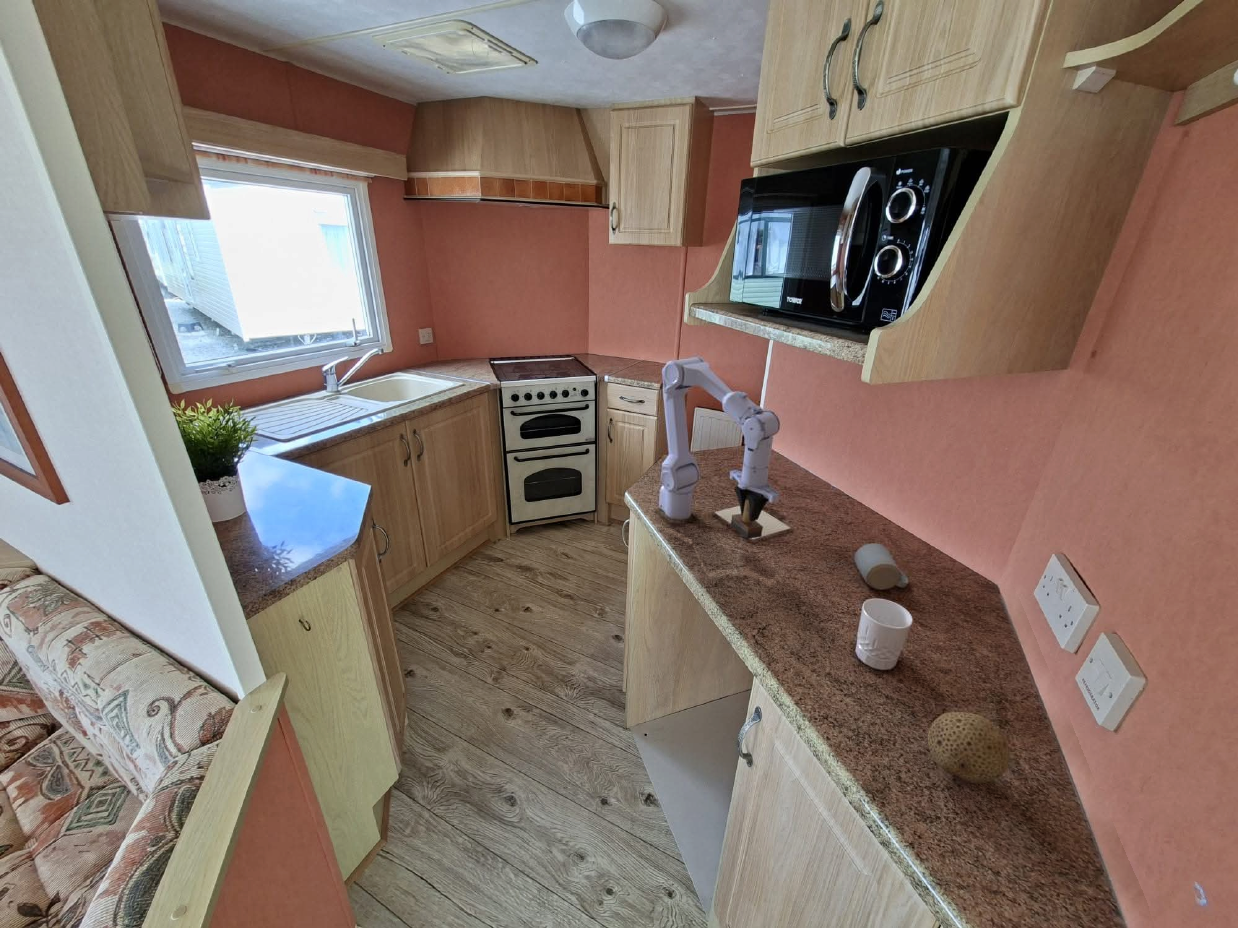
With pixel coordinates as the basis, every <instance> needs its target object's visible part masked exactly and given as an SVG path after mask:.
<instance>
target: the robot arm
mask: <svg viewBox="0 0 1238 928" xmlns="http://www.w3.org/2000/svg"><path fill="white" fill-rule="evenodd" d="M661 376H662V396H663V397H662V398H663V407H664V418H665V428H666V438H667V449H668V455H667V457H666V458H665V459H664V461H662V464H661V473H660V482H661V487H660V489H659V501H658V502H659V503H658V508H659V509H660V510H662V512H664V514H665V516H666V517H668V518H670V519H672V520H681V521H682V520H687V519H689V518H690V517H691V516H692V508H693V494H694V493H693V492H694V488H696V484H697V483H698V482H699V481H700V479H701V471H700V468H699V466H698V463H697V458H696V457H695V456H694V455H692V454H691V453H690V445H689V433H688V432H689V431H688V422H687V421H688V420H687V410H686V409H687V408H686V398H685V395H686V394H687V393H688V392H689V390H690V389H691V388H692V387H694V386H695V387H696V386H697V387H698V386H699V387H700V388H702V389H703V390H704V391H706V392H707V393H708V394H709V395H711V396H713V398H715V399H716V400H717V401H719V402H720V403H721V404H722V411H723V412H724V413H725V414H726V415H728V416H729V417H730V418H731V419H732V420H733V421H734V422H735V423H737V425H739V427H741V432H742V435H743V437H744V441H743V444H744V454H743V461H742V471H740V470H738V469H734V470H730V472H729V479H730V480H732V481H736V482H737V483H738V484H737V485H736V486H734V488H733V490H734V492H735V494H736V497H737V499H738V503H739V506H740V510H741V515H743V512H744V506H745V501H746V498H747V497H748V500H749V507H750V510H749V520H750V521H755V520H758V518H759V515H760V513H761V511H762V510H763V509H764V508H765V506H766V505H767V503H768V502H769V503H771V504H773V503H774V504H775V503H778V502H779V501H780V493H779V492H778V491H777V490H775V489H774V488H773V487H772V486H771V485H770V483H769V482H768V478H769V477H768V476H769V470H770V462H771V455H772V449H773V441H774V436H775V435H777V434H778V433H779V431H780V429H781V422H780V418H779V416H778V415H777V414H776V413H775V412H774V411H773V410H770V409H767V410H765V409H764V408H762V407H761V406H760V405H757V403H755V402H754V401H752V400H751V399H750V398H749V397H748V394H747V393H746V392H745V391H742V392H741V391H738V390H737V391H733V390H731V389H730V388H729V387H728V385H726V384H725V382H724V381H723V380H722V379H720V377H718V376H717V375H716V373H714V372H713V370H711V367H710V363H709V362H706V361H705V360H704V358H702V357H700V356H694V357H690V358H684V359H675V360H670V361H669V360H668V362H667V363H666V364H665V365H664V367H663V368H662V369H661Z"/></svg>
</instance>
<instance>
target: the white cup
mask: <svg viewBox="0 0 1238 928" xmlns="http://www.w3.org/2000/svg"><path fill="white" fill-rule="evenodd" d="M913 621H914V620H913V616H912V614H911V613H910V612H909V611H908V610H907V608H905V607H904V606H902V605H900V604H899V603H897V602H894V601H891V600H889V599H885V598H869V599H867V600H865V601H864V602H863V604H862V606H861V611H860V618H859V621H858V622H859V623H858V629H857V635H856V645H855V654H856V656H857V658H858V659H859V660H860V661H861V662H862V663H864V664H865V665H867V666H868V667H871V668H873V669H876V670H881V671H886V670H892V669H893V668H894V667H896V665H897V662H898V659H899V657H900V656H901V653H902V651H903V648H904V646H905V644H906V641H907V638H908V635H909V633H910V631H911V627H912V625H913Z"/></svg>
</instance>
